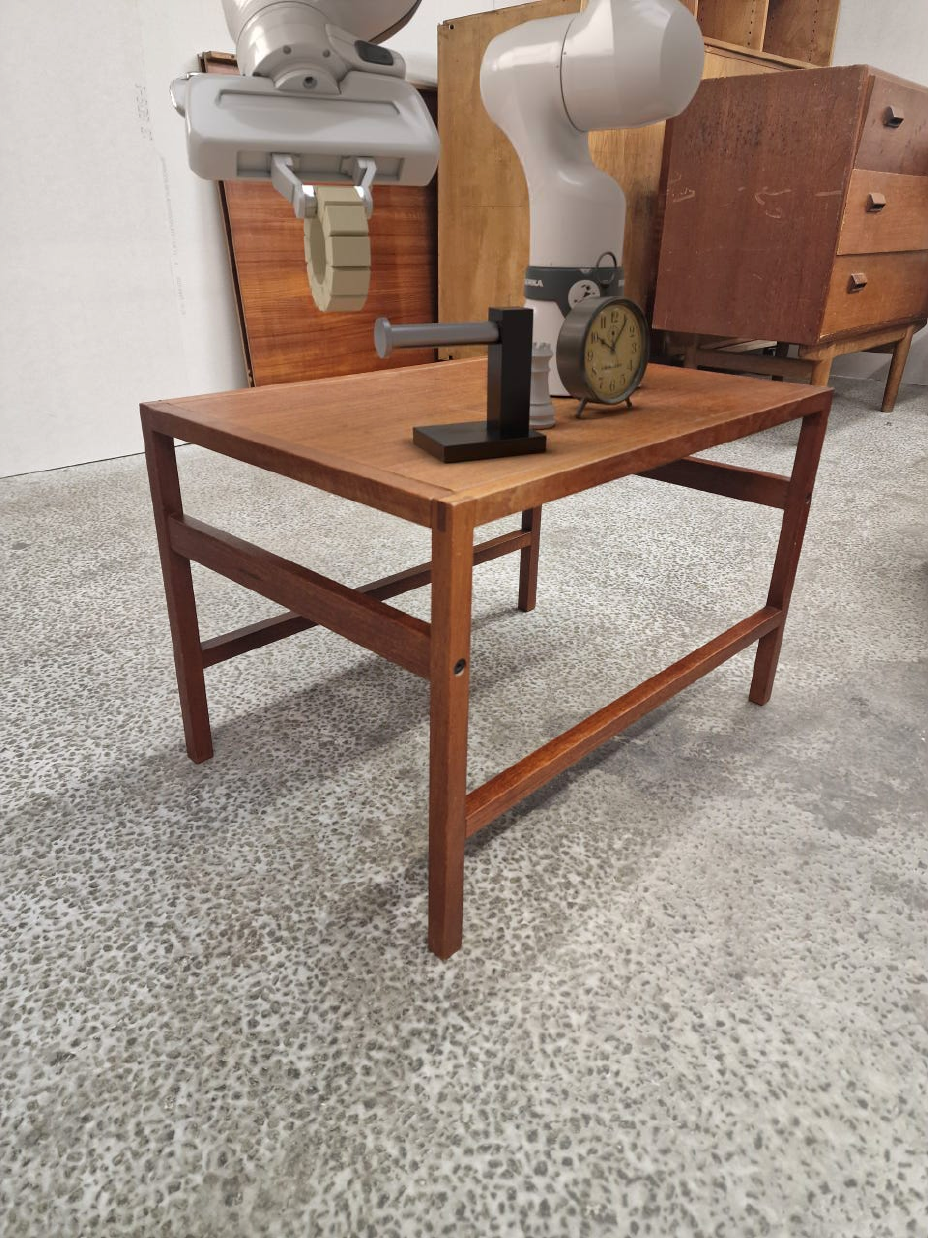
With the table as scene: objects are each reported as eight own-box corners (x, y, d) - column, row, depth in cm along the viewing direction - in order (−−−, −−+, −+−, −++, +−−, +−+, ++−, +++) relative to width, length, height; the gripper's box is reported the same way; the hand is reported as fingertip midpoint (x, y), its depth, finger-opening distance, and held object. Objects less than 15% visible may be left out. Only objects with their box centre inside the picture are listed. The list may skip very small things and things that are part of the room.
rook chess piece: (553, 420, 85) (557, 340, 81) (559, 429, 81) (563, 346, 77) (511, 420, 85) (513, 340, 81) (514, 429, 81) (517, 346, 77)
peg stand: (507, 433, 79) (510, 303, 74) (546, 452, 73) (553, 311, 67) (371, 446, 74) (364, 308, 69) (399, 468, 68) (394, 317, 62)
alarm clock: (580, 422, 84) (591, 252, 77) (543, 414, 88) (551, 251, 81) (647, 409, 90) (663, 250, 83) (610, 401, 94) (622, 249, 87)
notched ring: (308, 306, 69) (300, 188, 65) (342, 305, 70) (335, 189, 66) (336, 315, 62) (328, 182, 58) (373, 314, 63) (367, 184, 59)
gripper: (163, 31, 60) (197, 173, 56) (420, 54, 67) (466, 182, 63) (167, 109, 65) (198, 243, 61) (404, 123, 73) (445, 243, 69)
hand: (336, 212), depth 62 cm, fingers closed on notched ring, 3 cm apart
